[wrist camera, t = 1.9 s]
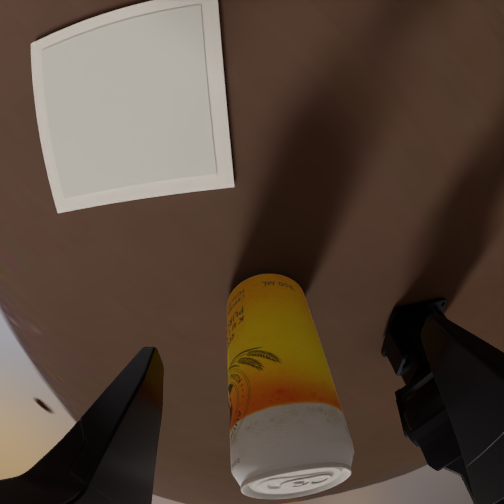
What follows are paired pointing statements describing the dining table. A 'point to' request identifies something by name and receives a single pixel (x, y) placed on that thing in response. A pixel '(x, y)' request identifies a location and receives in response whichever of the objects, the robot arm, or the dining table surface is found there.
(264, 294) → the beer can
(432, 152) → the dining table surface
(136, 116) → the coaster
